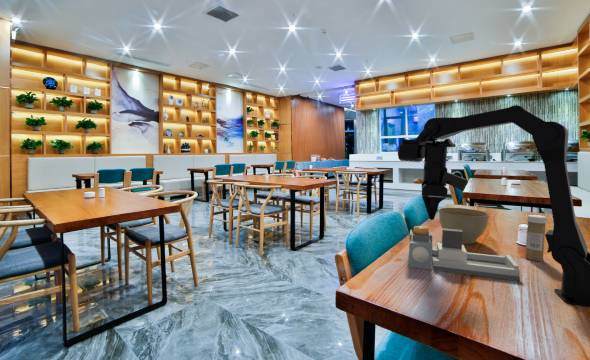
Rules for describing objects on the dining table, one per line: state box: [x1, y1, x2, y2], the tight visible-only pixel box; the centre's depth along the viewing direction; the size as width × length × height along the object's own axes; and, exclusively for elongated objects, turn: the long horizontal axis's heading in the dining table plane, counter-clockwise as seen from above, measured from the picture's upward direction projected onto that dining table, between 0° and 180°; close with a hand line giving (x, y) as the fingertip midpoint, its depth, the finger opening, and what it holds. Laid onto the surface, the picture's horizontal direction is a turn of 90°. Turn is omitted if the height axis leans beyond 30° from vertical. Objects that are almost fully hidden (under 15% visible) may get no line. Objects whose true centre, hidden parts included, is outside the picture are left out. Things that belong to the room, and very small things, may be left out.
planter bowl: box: [438, 207, 490, 245], centre depth 114 cm, size 16×16×11 cm
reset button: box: [413, 225, 429, 236], centre depth 92 cm, size 4×4×2 cm
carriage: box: [436, 227, 468, 263], centre depth 90 cm, size 7×7×9 cm
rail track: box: [432, 248, 521, 282], centre depth 88 cm, size 12×20×3 cm, turn 69°
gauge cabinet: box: [408, 229, 434, 271], centre depth 93 cm, size 12×6×9 cm, turn 159°
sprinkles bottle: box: [524, 214, 547, 262], centre depth 95 cm, size 5×5×14 cm
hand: (431, 216), depth 91 cm, fingers open, 9 cm apart
